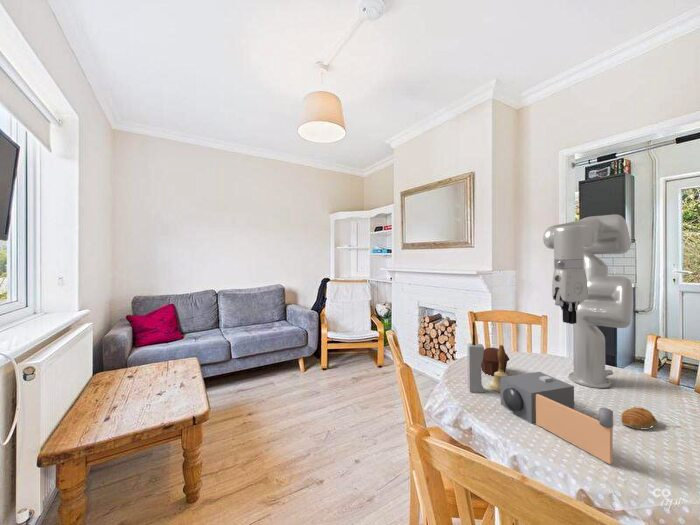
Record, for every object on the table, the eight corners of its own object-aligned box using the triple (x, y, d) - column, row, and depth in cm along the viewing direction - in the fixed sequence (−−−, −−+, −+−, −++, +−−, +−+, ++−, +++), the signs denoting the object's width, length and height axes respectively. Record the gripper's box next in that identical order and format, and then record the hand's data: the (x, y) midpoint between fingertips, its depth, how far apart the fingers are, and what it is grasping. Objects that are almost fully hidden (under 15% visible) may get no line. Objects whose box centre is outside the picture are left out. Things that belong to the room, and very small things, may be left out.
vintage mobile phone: (484, 393, 106) (483, 323, 105) (469, 392, 107) (469, 323, 106) (482, 388, 109) (481, 321, 109) (467, 387, 110) (467, 321, 110)
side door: (615, 462, 69) (615, 411, 69) (609, 465, 68) (609, 413, 68) (540, 422, 86) (539, 381, 85) (534, 424, 85) (533, 382, 85)
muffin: (476, 374, 123) (476, 350, 122) (480, 365, 132) (480, 343, 132) (508, 380, 116) (508, 355, 116) (510, 370, 126) (510, 347, 126)
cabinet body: (539, 397, 102) (539, 369, 101) (574, 415, 90) (573, 383, 90) (496, 405, 97) (496, 375, 97) (527, 424, 86) (526, 391, 85)
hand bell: (510, 384, 113) (509, 342, 112) (516, 394, 104) (516, 349, 104) (486, 382, 115) (486, 341, 114) (491, 392, 107) (490, 348, 106)
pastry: (645, 435, 80) (645, 421, 80) (614, 423, 86) (613, 410, 86) (659, 425, 84) (658, 412, 84) (628, 414, 90) (628, 402, 90)
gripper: (563, 267, 87) (564, 328, 88) (598, 264, 92) (598, 322, 93) (539, 266, 94) (541, 323, 95) (573, 263, 99) (574, 317, 100)
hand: (569, 322), depth 94 cm, fingers closed
